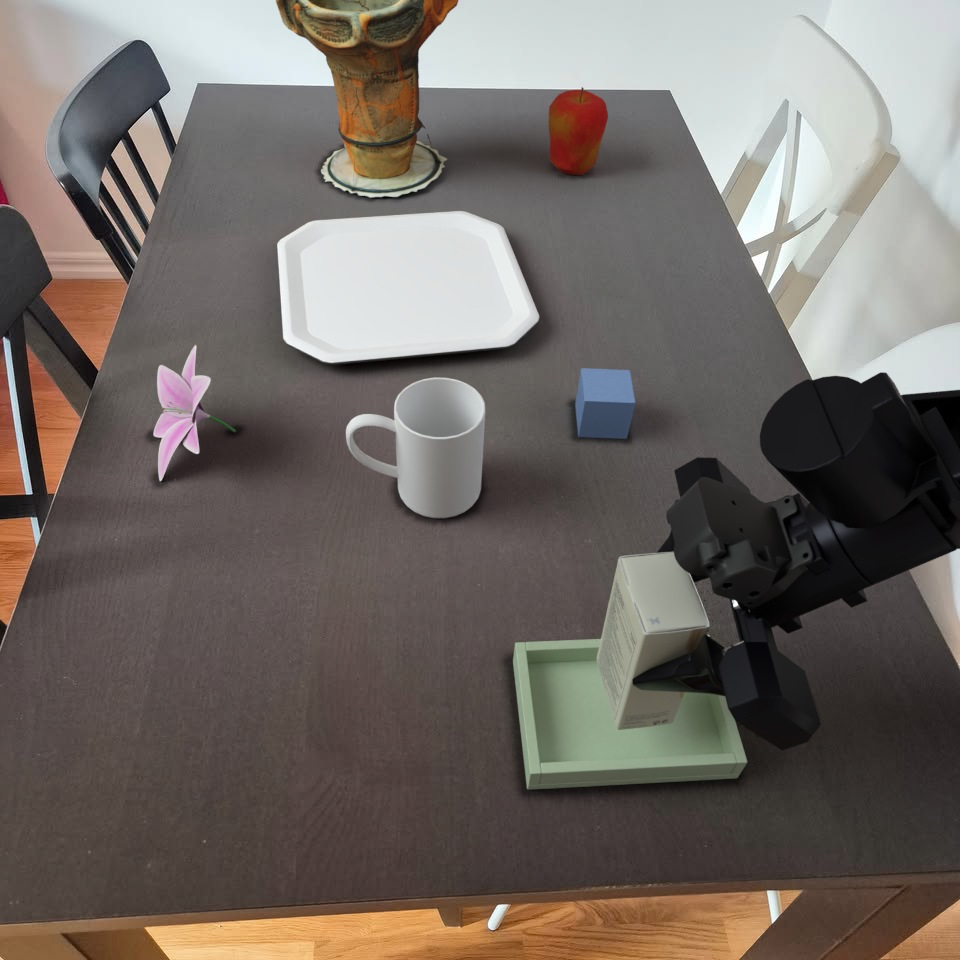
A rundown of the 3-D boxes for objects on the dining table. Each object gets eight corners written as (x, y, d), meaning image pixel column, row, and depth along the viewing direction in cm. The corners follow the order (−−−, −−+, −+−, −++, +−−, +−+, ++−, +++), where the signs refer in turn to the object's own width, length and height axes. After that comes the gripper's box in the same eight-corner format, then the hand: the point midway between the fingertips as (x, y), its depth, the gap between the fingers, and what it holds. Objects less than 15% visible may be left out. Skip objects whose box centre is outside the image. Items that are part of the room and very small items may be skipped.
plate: (287, 381, 89) (284, 365, 87) (277, 236, 108) (275, 221, 106) (548, 356, 94) (550, 340, 92) (495, 221, 113) (496, 206, 111)
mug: (474, 455, 83) (478, 373, 75) (486, 515, 77) (492, 434, 70) (350, 465, 81) (341, 383, 73) (355, 528, 76) (345, 446, 68)
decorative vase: (300, 136, 127) (273, -78, 107) (450, 135, 130) (452, -75, 109) (293, 206, 113) (261, -25, 93) (461, 203, 116) (467, -23, 95)
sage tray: (701, 652, 68) (709, 634, 66) (737, 778, 61) (748, 762, 59) (512, 660, 67) (515, 641, 65) (527, 790, 60) (530, 774, 58)
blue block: (622, 406, 88) (630, 369, 85) (626, 439, 85) (635, 402, 81) (575, 404, 88) (581, 367, 85) (578, 437, 85) (584, 400, 81)
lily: (181, 398, 88) (115, 352, 80) (276, 373, 84) (217, 322, 76) (168, 502, 83) (95, 464, 75) (268, 481, 79) (204, 438, 71)
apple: (535, 157, 126) (543, 76, 117) (587, 152, 127) (599, 72, 119) (554, 185, 120) (563, 102, 112) (608, 179, 122) (621, 98, 113)
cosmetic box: (674, 725, 59) (715, 631, 50) (615, 732, 58) (645, 639, 49) (649, 646, 63) (682, 547, 54) (593, 653, 63) (617, 553, 54)
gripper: (741, 357, 50) (543, 479, 58) (832, 621, 37) (563, 731, 45) (827, 451, 56) (637, 550, 64) (930, 705, 43) (677, 790, 51)
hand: (629, 639), depth 56 cm, fingers closed on cosmetic box, 6 cm apart
